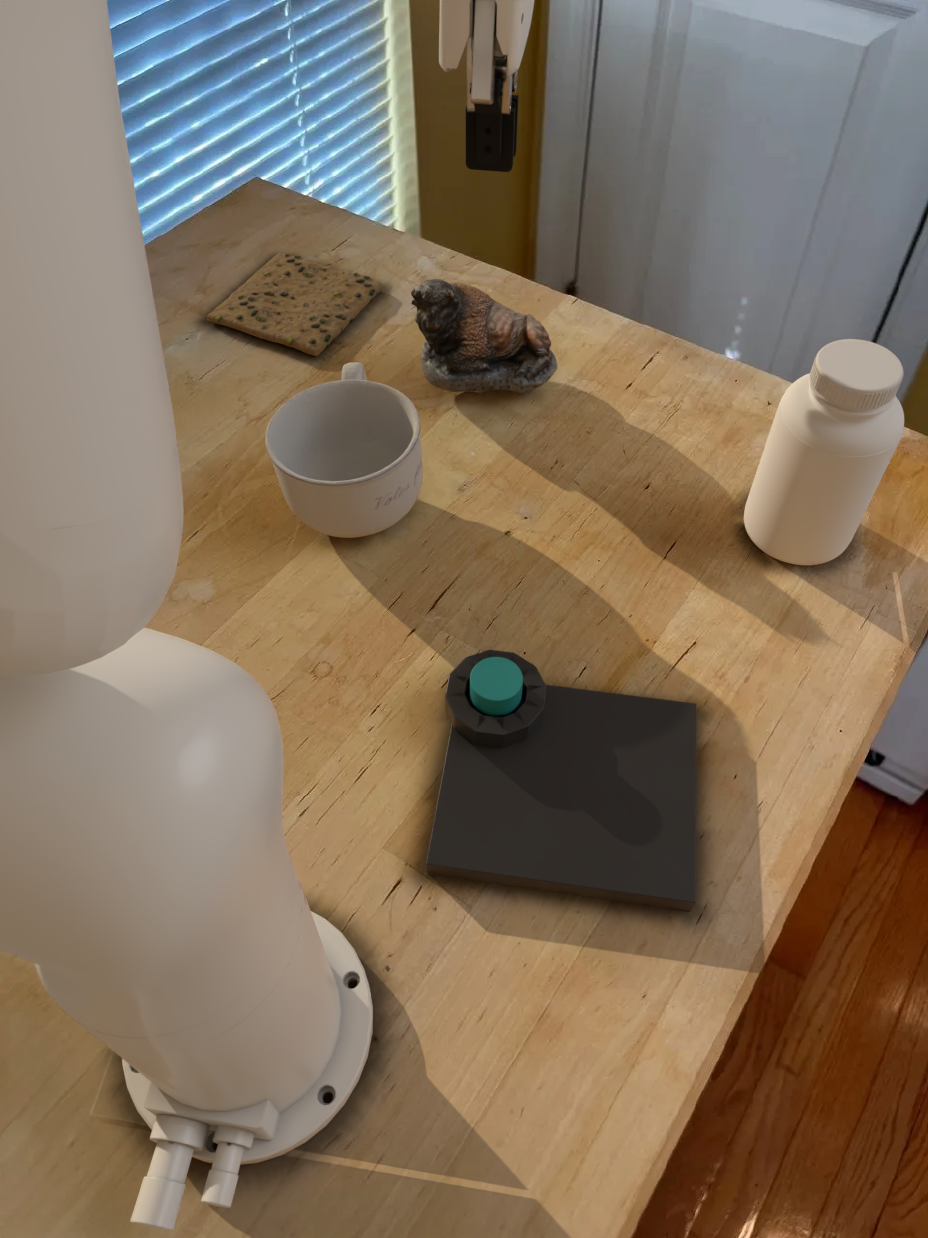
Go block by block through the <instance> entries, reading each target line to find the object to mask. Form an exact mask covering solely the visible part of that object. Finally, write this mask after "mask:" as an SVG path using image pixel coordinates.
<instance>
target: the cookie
mask: <svg viewBox="0 0 928 1238" xmlns="http://www.w3.org/2000/svg"><path fill="white" fill-rule="evenodd" d="M382 290H383V283H382V282H380V281H378V280H375V279H372V278H371V276H368V275H361V274H359V273H358V272H351V271H348V270H344V269H339V268H335V267H331V266H326V265H323V264H320V263H318V262H315V261H312V260H309V259H306V258H303V257H302V256H301V255H292V254H290V253H289V252H288V253H281V252H278V253H277V254H275V255H274V256H273V257H271V258H270V259H269V260H268V261H267V262H266V263H265V264H264V265H262V267H261V268H259V269H258V270H256V271H255V272H254V273H253V275H252V276H250V277H249V278H248V279H247V280H246V281H245V282H244V283H243V284H242V285H240V286H239V287H238V288H237V289H236V290H234V291H233V292H232V293H230V295H229V296H228V297H227V298H226V299H225V300H224V301H222V302H221V303H220V304H219V305H218V306H217V307H215V308H214V309H213V310H212V311H211V312H209V313H208V314H206V320H207V322H209V323H214V324H216V325H222V326H225V327H228V328H231V329H234V330H237V331H241V332H243V333H246V334H248V335H250V336H254V337H257V338H259V339H260V340H266V341H268V342H273V343H278V344H281V345H284V346H286V347H289V348H293V349H296V350H297V351H301V352H302V353H305V354H308V355H310V356H313V357H318V356H319V355H321V353H323V351H324V350H325V349H327V348H328V347H329V345H330V344H331V343H332V342H335V339H336V338H337V337H338V336H339V335H340V334H341V333H342V332H344V331H345V329H346V327H347V326H349V324H351V323H353V321H354V319H356V317H357V316H358V315H359V314H360V312H362V310H364V308H366V307H367V306H368V304H369V303H371V302H372V301H373V299H374V298H375V297H376V296H378V295H379V293H380V292H382Z"/></svg>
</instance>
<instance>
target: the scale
mask: <svg viewBox="0 0 928 1238" xmlns="http://www.w3.org/2000/svg"><path fill="white" fill-rule="evenodd" d="M490 657H502V658H506V659H508V660H510V661H512V662H514V663H515V664H516V665H517V666H518V667H519V669H520V670H521V672H522V675H523V687H522V697H521V701H520V703H519V705H518V706H517V707H516V708H515V709H514V710H513V711H512V712H510V713H508V714H505V715H501V716H492V715H488V714H485V713H483V712H481V711H479V710H478V709H477V708H476V707H475V706H474V705H473V703H472V701H471V698H470V675H471V672H472V669H473V668H474V667H475V665H476V664H477V663H479V662H480V661H482V660H484V659H486V658H490ZM444 702H445V703H444V704H445V705H444V707H445V712H446V714H447V716H448V718H449V721H450V723H451V725H450V730H449V737H448V741H447V746H446V752H445V758H444V763H443V768H442V772H441V773H442V774H441V779H440V785H439V789H438V796H437V801H436V807H435V812H434V818H433V822H432V828H431V834H430V840H429V843H428V850H427V855H426V860H425V871H426V874H429V875H436V876H443V877H451V878H456V879H463V880H464V879H465V880H470V881H475V882H476V881H477V882H483V883H492V884H498V885H504V886H511V887H518V888H526V889H532V890H539V891H546V892H553V893H560V894H567V895H574V896H580V897H588V898H595V899H600V900H601V899H602V900H609V901H615V902H621V903H627V904H636V905H643V906H650V907H657V908H662V909H663V908H664V909H670V910H677V911H685V912H692V911H693V909H694V907H695V906H696V904H697V703H695V702H688V701H678V700H671V699H663V698H655V697H647V696H639V695H632V694H631V695H630V694H622V693H615V692H607V691H599V690H592V689H591V690H590V689H582V688H575V687H567V686H561V685H560V686H559V685H551V684H546V683H545V680H544V679H543V677H542V675H541V673H540V671H539V670H538V668H537V666H536V665H535V664H534V663H532V662H530V661H528V660H527V659H525V658H523V657H522V656H520V655H518V653H515V652H513V651H504V650H497V649H496V650H495V649H486V650H483V651H481V652H478V653H475V654H471V655H468V656H465V657H464V659H462V660H461V661H460V663H459V664H458V665H457V666H455V668H454V669H453V670H452V671H450V673H449V675H448V679H447V683H446V689H445V693H444Z"/></svg>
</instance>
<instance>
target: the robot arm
mask: <svg viewBox="0 0 928 1238" xmlns="http://www.w3.org/2000/svg"><path fill="white" fill-rule="evenodd" d="M534 6H535V0H439V24H438V25H439V27H438V28H439V29H438V30H439V31H438V33H439V34H438V64H439V66H440V68H441V69H442V70H443V72H445V73H450V72H451V71H452V70H457V69H458V67H459V65H460V61H461V58H462V56H463V54H464V50H465V48H466V106H465V166H466V168H467V169H468V170H473V171H487V172H488V171H489V172H497V173H498V172H500V173H509V172H511V171H512V170H513V165H514V159H515V156H516V153H517V146H518V122H519V99H520V95H518V94H517V95H516V93H517V87H518V85H517V84H518V71H519V69H520V66H521V63H522V60H523V56H524V52H525V49H526V45H527V42H528V38H529V33H530V30H531V25H532V18H533V12H534ZM109 15H110V14H109V6H108V0H0V952H3V953H6V954H9V955H13V956H15V957H18V958H20V959H23V960H25V961H27V962H30V963H33V964H34V967H35V970H36V973H37V976H38V978H39V981H40V982H41V984H42V987H43V988H44V989H45V991H46V993H47V994H48V995H49V996H50V998H51V999H52V1001H54V1003H55V1004H56V1005H57V1006H58V1007H59V1009H60V1010H61V1011H62V1012H64V1013H65V1014H66V1015H67V1016H68V1017H69V1018H71V1019H72V1020H73V1021H74V1022H75V1023H77V1024H78V1025H79V1026H80V1027H82V1028H83V1029H84V1030H85V1031H86V1032H87V1033H89V1034H90V1035H92V1036H93V1037H95V1038H96V1039H98V1040H99V1041H100V1042H102V1043H103V1044H104V1045H105V1046H106V1047H107V1048H109V1049H110V1050H111V1051H113V1052H114V1053H115V1054H116V1055H117V1056H118V1057H120V1058H121V1064H122V1069H123V1074H124V1079H125V1083H126V1088H127V1092H128V1093H129V1095H130V1098H131V1100H132V1102H133V1105H134V1107H135V1109H136V1111H137V1113H138V1114H139V1116H140V1117H141V1118H142V1119H143V1121H144V1122H145V1124H146V1125H147V1126H148V1127H149V1129H150V1131H151V1132H150V1136H149V1141H151V1142H154V1143H156V1144H155V1149H154V1151H153V1155H152V1157H151V1161H150V1164H149V1167H148V1171H147V1173H146V1175H145V1176H143V1179H142V1182H141V1185H140V1189H139V1192H138V1194H137V1198H136V1202H135V1205H134V1207H133V1212H132V1214H131V1217H130V1221H129V1223H132V1224H135V1225H139V1226H144V1227H149V1228H153V1229H159V1230H165V1231H174V1229H175V1225H176V1222H177V1218H178V1216H179V1215H178V1214H179V1211H180V1208H181V1204H182V1201H183V1198H184V1194H185V1191H186V1187H187V1184H185V1183H186V1179H187V1175H188V1172H189V1170H190V1169H189V1168H190V1165H191V1162H192V1158H193V1159H197V1160H199V1161H201V1162H205V1163H207V1164H212V1165H211V1169H209V1170H208V1174H207V1178H206V1181H205V1185H204V1187H203V1192H202V1196H201V1200H200V1203H203V1204H205V1205H209V1206H214V1207H220V1208H225V1209H231V1207H232V1204H233V1200H234V1197H235V1192H236V1188H237V1184H238V1180H239V1176H240V1175H239V1171H240V1168H241V1166H242V1165H251V1164H258V1163H261V1162H264V1161H268V1160H272V1159H274V1158H277V1157H280V1156H284V1155H285V1154H287V1153H289V1152H290V1151H293V1150H294V1149H296V1148H298V1147H300V1146H301V1145H304V1144H305V1143H306V1142H309V1140H311V1139H312V1138H313V1137H314V1136H315V1135H316V1134H318V1133H319V1132H321V1131H322V1130H323V1129H324V1128H325V1127H327V1126H328V1124H329V1123H330V1122H331V1121H332V1120H333V1119H334V1118H335V1116H336V1115H337V1114H338V1113H339V1112H340V1110H341V1109H343V1107H344V1106H345V1105H346V1103H347V1101H348V1100H349V1098H350V1096H351V1094H352V1093H353V1091H354V1090H355V1088H356V1086H357V1085H358V1083H359V1081H360V1078H361V1075H362V1073H363V1070H364V1068H365V1065H366V1063H367V1060H368V1057H369V1053H370V1048H371V1042H372V1037H373V1033H374V1032H373V1031H374V1030H373V1029H374V1024H373V1023H374V1005H373V1000H372V994H371V993H372V992H371V987H370V984H369V980H368V978H367V977H368V976H367V973H366V970H365V968H364V966H363V964H362V961H361V959H360V958H359V955H358V953H357V952H356V950H355V948H354V947H353V946H352V945H351V943H350V941H348V939H347V938H346V936H345V935H344V934H343V933H342V931H340V930H339V929H338V928H337V927H336V926H335V925H333V924H332V923H331V922H330V921H329V920H328V919H326V918H324V917H323V916H321V915H319V914H317V913H315V912H314V911H311V908H310V906H309V903H308V900H307V896H306V894H305V891H304V888H303V885H302V883H301V881H300V878H299V875H298V872H297V870H296V868H295V864H294V863H293V860H292V857H291V853H290V850H289V847H288V844H287V841H286V836H285V831H284V830H285V829H284V785H285V757H284V754H285V753H284V741H283V735H282V730H281V725H280V721H279V718H278V713H277V710H276V709H275V705H274V703H273V702H272V700H271V698H270V696H269V695H268V693H267V692H266V690H265V689H264V687H263V686H262V684H261V683H260V682H259V681H258V680H256V678H255V677H254V676H253V675H251V673H249V672H248V671H247V670H245V668H243V667H241V666H240V665H239V664H237V663H236V662H234V661H232V660H231V659H229V658H227V657H226V656H224V655H222V654H220V653H218V652H217V651H214V650H212V649H210V648H208V647H205V646H203V645H200V644H197V643H195V642H192V641H189V640H188V639H185V638H183V637H182V638H181V637H178V636H176V635H172V634H169V633H165V632H162V631H158V630H155V629H151V628H148V627H146V626H147V625H148V623H149V622H151V621H152V620H153V619H154V617H155V615H156V614H157V612H158V611H159V609H160V608H161V607H162V605H163V602H164V601H165V598H166V596H167V594H168V592H169V589H170V587H171V585H172V584H173V582H174V580H175V576H176V573H177V569H178V562H179V557H180V552H181V547H182V540H183V535H184V534H183V533H184V521H185V520H184V519H185V515H184V514H185V512H184V492H183V483H182V482H183V481H182V473H181V472H182V471H181V464H180V454H179V446H178V439H177V432H176V423H175V416H174V410H173V403H172V398H171V392H170V391H171V390H170V385H169V380H168V374H167V369H166V363H165V357H164V350H163V345H162V340H161V333H160V327H159V321H158V315H157V310H156V303H155V298H154V291H153V287H152V281H151V276H150V275H151V274H150V269H149V264H148V257H147V253H146V245H145V240H144V234H143V228H142V223H141V217H140V212H139V211H140V210H139V205H138V200H137V194H136V188H135V182H134V177H133V170H132V164H131V159H130V154H129V147H128V141H127V137H126V130H125V125H124V118H123V113H122V106H121V100H120V93H119V92H120V91H119V85H118V78H117V71H116V61H115V55H114V46H113V39H112V30H111V23H110V16H109ZM353 981H355V982H356V983H357V984H356V986H355V987H354V988H353V987H352V988H351V987H349V985H350V983H351V982H353ZM327 1094H331V1095H332V1100H331V1101H329V1102H324V1098H325V1096H326V1095H327ZM214 1144H217V1147H216V1149H214Z"/></svg>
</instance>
